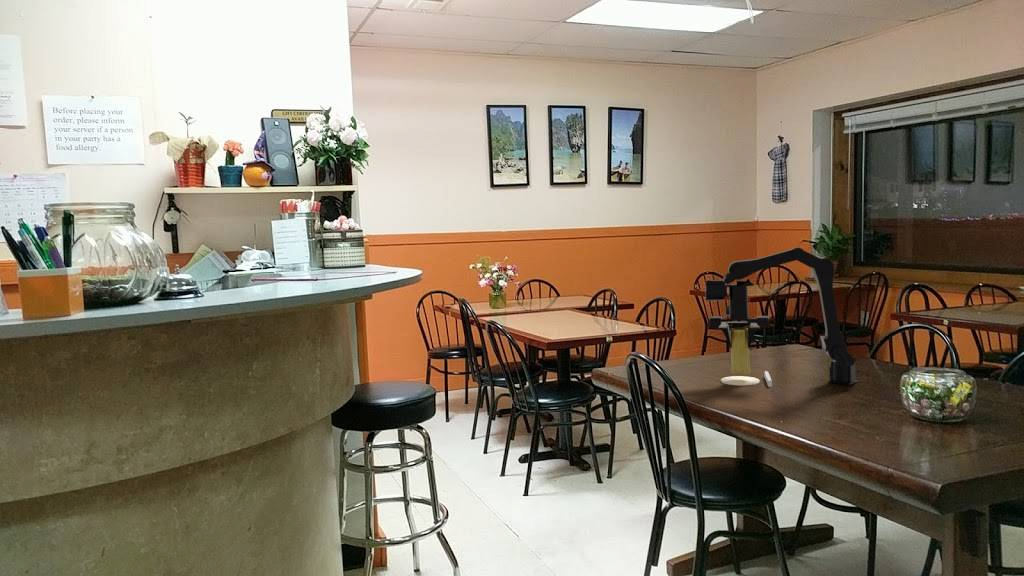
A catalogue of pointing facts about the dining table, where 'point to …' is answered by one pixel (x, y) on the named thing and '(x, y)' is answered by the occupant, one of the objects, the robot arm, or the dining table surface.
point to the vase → (739, 351)
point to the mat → (740, 380)
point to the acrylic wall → (768, 379)
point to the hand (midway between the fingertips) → (739, 347)
